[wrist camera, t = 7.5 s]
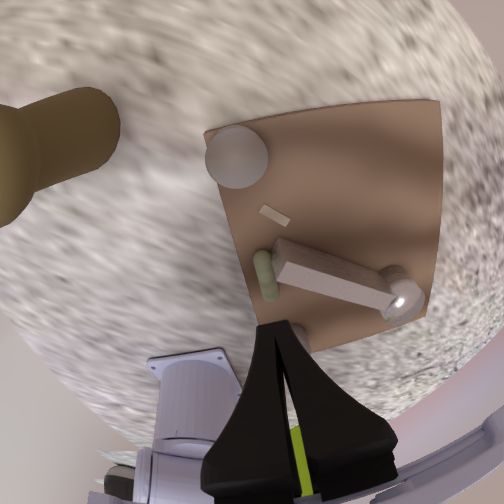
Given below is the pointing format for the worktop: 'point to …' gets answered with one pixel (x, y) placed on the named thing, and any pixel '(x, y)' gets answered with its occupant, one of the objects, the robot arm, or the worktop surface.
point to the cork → (53, 144)
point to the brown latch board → (332, 204)
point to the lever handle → (348, 281)
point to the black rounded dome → (120, 482)
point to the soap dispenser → (301, 461)
